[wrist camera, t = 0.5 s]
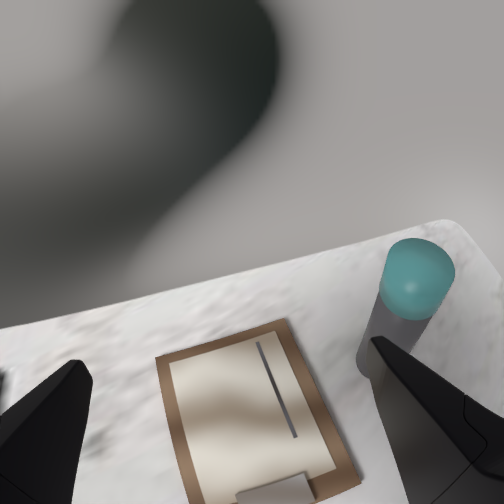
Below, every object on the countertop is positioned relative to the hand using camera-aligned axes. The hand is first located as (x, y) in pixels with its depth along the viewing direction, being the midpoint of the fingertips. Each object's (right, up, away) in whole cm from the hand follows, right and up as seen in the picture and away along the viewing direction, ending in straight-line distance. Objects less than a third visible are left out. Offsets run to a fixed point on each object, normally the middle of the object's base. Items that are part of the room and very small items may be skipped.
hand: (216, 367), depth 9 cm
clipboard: (+1, -10, +13) cm, 16 cm away
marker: (+12, -6, +15) cm, 20 cm away
